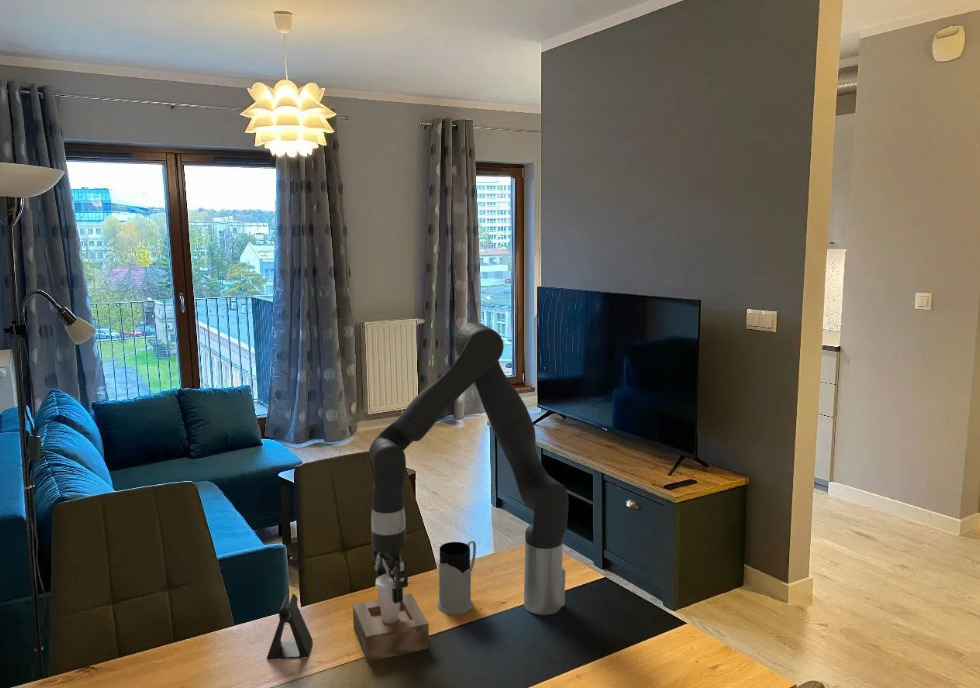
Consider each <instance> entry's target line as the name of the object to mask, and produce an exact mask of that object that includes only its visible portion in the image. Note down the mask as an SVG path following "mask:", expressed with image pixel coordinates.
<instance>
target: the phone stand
mask: <svg viewBox="0 0 980 688" xmlns="http://www.w3.org/2000/svg"><path fill="white" fill-rule="evenodd" d="M289 596H290V595H289V593H288V594H285V596H284V597H283V601H282V604H281V606H280V609H279V611H278V618H279V622H278V625H277V628H276V630H275V633H274V636H273V639H272V642H271V643H270V644H271V645H270V647H269V651H268V654H267V656H266V659H267V660H286V659H289V658H290V659H305V658H304V657H308V658H309V656H310V653H311V649H312V646H313V641H314V640H313V638H312V636H311V633H310V631H309V628H308V626H307V624H306V621H305V620H304V617H303V615H302V613H301V610H300V608H299V606H298V600H299V599H298V596H297V595H296V594H294V593H292V594H291V598H290V601H289V603H288V604H287V602H288V599H289ZM285 624H289V627H290V629H291V632H292V636H293V638H294V640H291V641H281V640H282V636H283V633H284V628H285ZM302 657H303V658H302Z"/></svg>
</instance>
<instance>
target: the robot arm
mask: <svg viewBox="0 0 980 688" xmlns="http://www.w3.org/2000/svg"><path fill="white" fill-rule="evenodd" d="M504 347H505V346H504V341H503V339H502V336H501V335H500V334H499V332H497V331H495V329H492V328H491V327H489V326H487V325H484V324H483V323H479V322H467V323H465V324H463V325H461V327H460V328H459V329H457V331H456V334H455V336H454V348H455V351H456V353H457V355H458V357H457V359H456V360H454V363H453V364H452V366H450V368H449V369H448V370H447V371H446V372H445V373H444V374H443V375H442V376H440V377H439V378H438V379H436V380H435V381H434V382H432V383H431V384H430V385H429V386H427V387H426V388H424V389H423V390H422V391H421V392H419V393H418V394H417V395H416V396H415V397H414V398H413V399H412V400H411V402H410V403H409V404H408V405H407V407H406V408H405V409H404V410H403V411H402V413H401V414H400V415H399V416H398V417H397V419H395V421H393V422H392V423H391V424H389V425H388V426H387V427H386V428H385V429H383V430H382V431H381V432H380V433H379V434H378V435H377V436H376V437H375V439H374V440H373V442H371V444H370V446H369V448H368V449H369V450H368V456H369V459H370V461H371V463H372V465H373V471H374V472H373V473H374V475H373V476H374V478H373V481H374V483H373V485H372V487H371V514H370V518H371V519H370V520H371V521H370V523H371V524H370V525H371V527H370V529H371V530H370V531H371V565H372V566H374V570H375V571H376V579H377V578H378V577H379V576H381V575H384V574H387V577H388V578H389V579H390V580H391V583H392V598H393V602H394V603H395V604H396V603H399V602H402V601H403V595H404V593H403V592H404V590H403V589H404V588H407V587H409V579H408V578H409V577H408V575H409V574H408V562H407V560H406V559H405V560H402V557H401V554H400V552H401V551H402V550H403V549H404V548H405V546H406V542H407V541H406V535H407V534H406V512H405V492H404V484H405V479H406V471H407V460H406V454H405V450H406V449H407V448H408V447H409V446H410V445H411V444H412V443H413V442H419V441H421V440H422V439H423V438H424V437H425V436H426V435H427V433H429V431H430V430H431V429H432V427H433V426H434V425H435V424H436V423H437V422H438V420H439V419H441V417H442V415H444V414H445V412H446V411H447V410H448V409H449V408H450V407H451V405H452V404H453V403H454V402H456V400H458V399H459V397H461V395H462V394H463V393H465V392H466V391H467V390H468V389H469V388H470V387H471V386H472V385H473V384H474V386H475V387H476V391H477V392H478V395H479V398H480V401H481V404H482V406H483V409H484V412H485V414H486V416H487V419H488V422H489V424H490V427H491V429H492V430H493V433H494V436H495V438H496V440H497V441H498V443H499V446H500V448H501V450H502V452H503V454H504V455H505V458H506V459H507V462H508V463H509V465H510V469H512V473H513V476H514V480H515V482H516V486H517V489H518V492H519V495H520V499H521V500H522V503H523V504H524V506H526V507H527V508H528V510H529V509H530V510H531V511H532V512H533V522H532V524H530V525H529V526H527V527H526V528H525V534H524V539H525V540H524V544H525V545H524V580H523V581H524V586H523V587H524V588H523V589H524V591H523V592H524V594H523V595H524V596H523V605H524V608H525V609H526V610H527V611H528V612H530V613H532V614H534V615H540V616H548V615H554V614H556V613H558V612H559V611H560V610H561V609H562V607H564V606H565V603H566V602H565V601H566V599H565V598H566V569H565V568H563V556H564V555H563V554H564V553H563V552H564V551H563V549H564V535H566V532H567V529H568V527H567V526H568V517H569V516H568V514H569V494H568V491H567V489H566V487H565V486H564V485H563V484H562V483H560V482H559V481H557V480H556V479H554V478H553V477H551V476H550V475H549V474H548V473H547V471H546V469H545V468H544V466H543V464H542V462H541V460H540V458H539V455H538V452H537V448H536V441H537V440H536V437H537V435H536V430H535V425H534V422H533V420H532V418H531V415H530V413H529V411H528V410H529V409H528V408H527V406H526V404H525V402H524V400H523V399H522V397H521V396H520V394H519V392H518V391H517V390H516V388H515V386H513V384H512V383H511V381H510V380H509V379H508V377H507V376H506V374H505V372H504V370H503V368H502V366H501V364H500V362H499V361H500V359H501V357H502V355H503V353H504ZM391 572H393V573H391ZM394 577H395V579H394ZM403 579H404V580H403Z"/></svg>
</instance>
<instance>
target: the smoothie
mask: <svg viewBox="0 0 980 688" xmlns="http://www.w3.org/2000/svg"><path fill="white" fill-rule="evenodd" d="M391 573H394V571H393V572H391ZM394 579H395V577H394ZM403 580H404V578H403ZM374 585H375V587H376V588H377V596H378V600H379V603H380V610H381V617H382V621H383V622H384V623H386V624H392V623H395V622H397V621H398V617H399V609H400V602H399V603H396V604H395V603H394V602H393V598H392V583H391V580H390V579H389V578H388V577H387V574H384V575H381V576H379V577H378V578H377V577H376V579H375V584H374Z"/></svg>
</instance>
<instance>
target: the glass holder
mask: <svg viewBox="0 0 980 688" xmlns="http://www.w3.org/2000/svg"><path fill="white" fill-rule="evenodd" d="M471 545H472V546H473V549H472V557H471V547H470V546H471ZM476 550H477V545H476V541H474V540H469V541H468V542H467V543H465V542H461V541H450V542H445V543H444V544H442V545H441V546H440V547H439V564H438V601H437V605H436V607H437V609H438V610H439V611H440V612H442V613H443V614H447V615H462V614H465V613H467V612H469V611H471V610H472V608H473V601H472V599H471V597H472V596H471V595H472V593H471V592H472V591H471V590H472V589H471V588H472V584H471V583H472V578H471V577H472V576H471V575H472V572H473V568H474V566H475V565H474V564H475V561H476V553H477V551H476Z"/></svg>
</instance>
